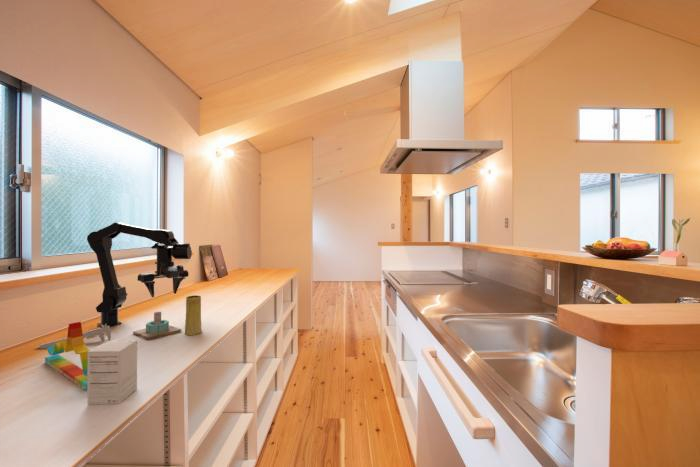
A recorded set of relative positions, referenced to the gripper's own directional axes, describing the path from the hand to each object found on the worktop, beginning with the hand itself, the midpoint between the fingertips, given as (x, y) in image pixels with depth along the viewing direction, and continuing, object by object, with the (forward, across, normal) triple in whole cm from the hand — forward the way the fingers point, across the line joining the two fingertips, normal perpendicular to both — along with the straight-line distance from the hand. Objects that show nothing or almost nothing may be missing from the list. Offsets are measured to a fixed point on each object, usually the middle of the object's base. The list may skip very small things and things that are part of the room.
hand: (164, 295), depth 137 cm
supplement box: (+12, -38, -51) cm, 65 cm away
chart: (+12, -40, -27) cm, 50 cm away
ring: (+11, -8, -11) cm, 17 cm away
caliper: (+12, -30, 0) cm, 33 cm away
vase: (+12, 0, -22) cm, 25 cm away
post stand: (+12, -8, -11) cm, 18 cm away
